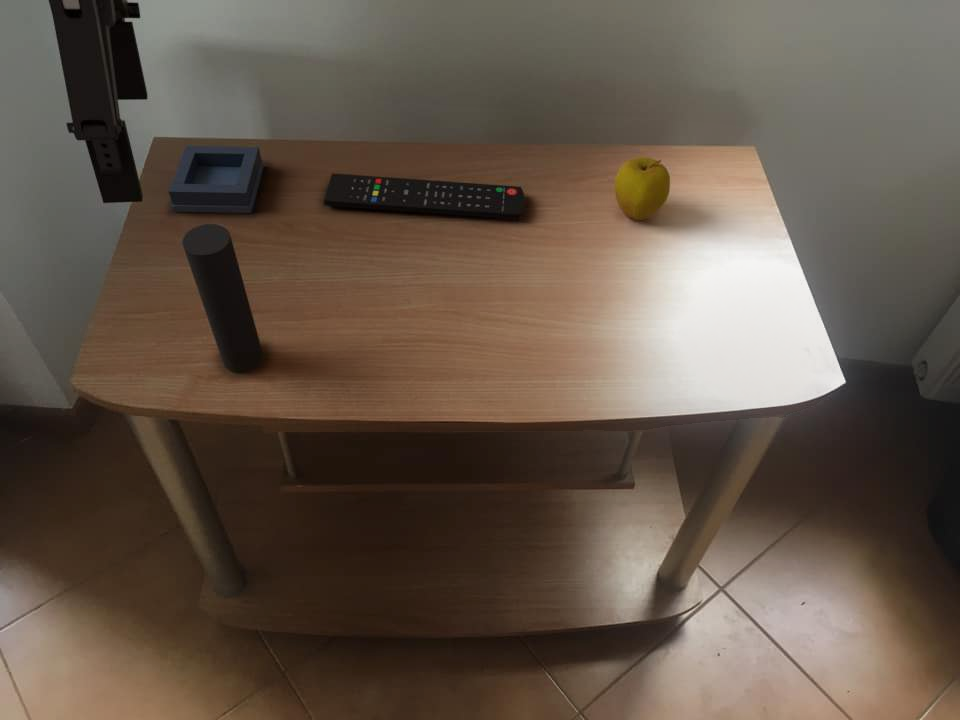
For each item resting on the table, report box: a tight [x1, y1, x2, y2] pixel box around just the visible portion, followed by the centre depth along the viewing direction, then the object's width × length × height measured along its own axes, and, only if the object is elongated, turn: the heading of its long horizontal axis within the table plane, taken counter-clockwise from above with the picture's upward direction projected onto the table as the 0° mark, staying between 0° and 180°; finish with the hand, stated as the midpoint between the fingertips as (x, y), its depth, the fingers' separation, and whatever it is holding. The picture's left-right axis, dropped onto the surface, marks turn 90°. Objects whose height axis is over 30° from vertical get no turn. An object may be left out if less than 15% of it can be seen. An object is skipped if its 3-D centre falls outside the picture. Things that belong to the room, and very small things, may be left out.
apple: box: [614, 157, 671, 221], centre depth 93 cm, size 6×6×8 cm
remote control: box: [323, 173, 526, 220], centre depth 96 cm, size 5×24×1 cm, turn 86°
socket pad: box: [168, 144, 265, 214], centre depth 95 cm, size 9×9×3 cm
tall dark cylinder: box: [181, 223, 264, 374], centre depth 73 cm, size 4×4×16 cm
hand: (127, 145), depth 63 cm, fingers open, 13 cm apart
